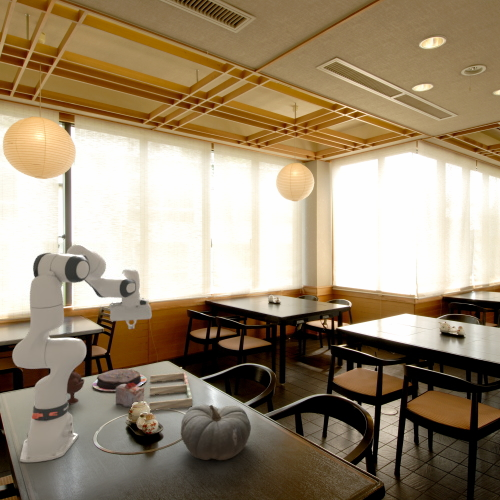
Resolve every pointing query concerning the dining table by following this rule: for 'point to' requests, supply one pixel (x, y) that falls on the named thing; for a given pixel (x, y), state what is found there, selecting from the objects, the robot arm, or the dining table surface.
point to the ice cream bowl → (74, 386)
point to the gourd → (215, 431)
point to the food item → (129, 394)
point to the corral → (170, 391)
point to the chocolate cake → (118, 379)
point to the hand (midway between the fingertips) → (131, 328)
